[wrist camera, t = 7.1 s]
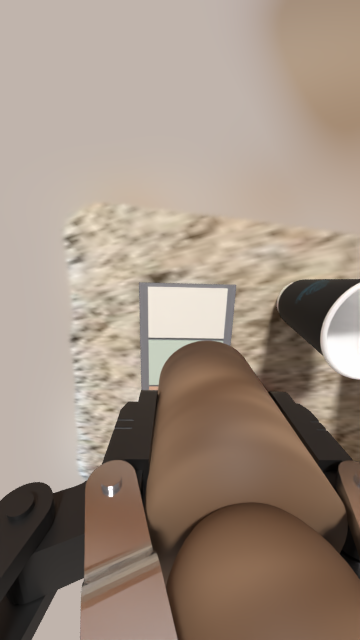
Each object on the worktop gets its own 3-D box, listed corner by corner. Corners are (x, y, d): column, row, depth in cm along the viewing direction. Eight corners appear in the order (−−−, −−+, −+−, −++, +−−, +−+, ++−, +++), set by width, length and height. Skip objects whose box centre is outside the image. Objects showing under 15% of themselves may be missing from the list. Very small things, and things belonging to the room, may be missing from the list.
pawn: (256, 341, 12) (829, 935, 1) (245, 422, 13) (501, 1019, 3) (159, 339, 11) (44, 995, 1) (158, 421, 13) (100, 1050, 3)
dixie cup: (309, 341, 28) (392, 392, 18) (252, 321, 27) (303, 363, 17) (342, 280, 26) (457, 298, 16) (281, 257, 25) (360, 258, 15)
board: (235, 284, 26) (236, 285, 25) (222, 426, 31) (223, 429, 31) (139, 282, 26) (138, 283, 25) (142, 426, 31) (142, 429, 30)
